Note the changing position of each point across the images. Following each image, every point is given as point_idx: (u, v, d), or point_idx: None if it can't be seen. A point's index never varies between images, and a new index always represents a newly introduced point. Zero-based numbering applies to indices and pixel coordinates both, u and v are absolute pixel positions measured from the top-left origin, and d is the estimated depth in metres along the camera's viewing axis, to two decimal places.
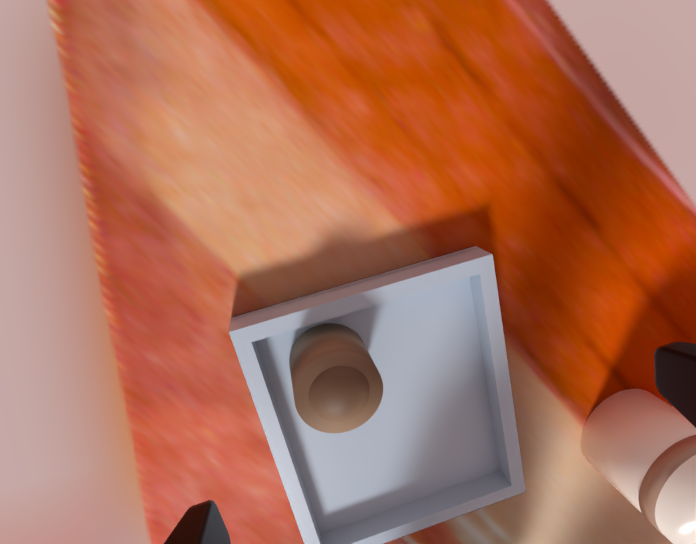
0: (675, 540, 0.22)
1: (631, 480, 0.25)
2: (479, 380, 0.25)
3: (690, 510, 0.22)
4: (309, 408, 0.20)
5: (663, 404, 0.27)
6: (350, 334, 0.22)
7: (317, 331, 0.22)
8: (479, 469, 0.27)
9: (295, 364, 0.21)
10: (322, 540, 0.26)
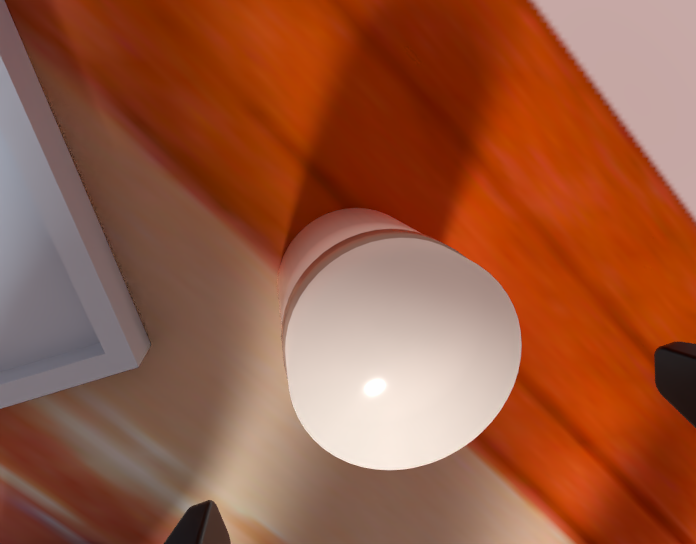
0: None
1: None
2: None
3: (309, 349, 0.10)
4: None
5: (384, 216, 0.15)
6: None
7: None
8: (73, 333, 0.16)
9: None
10: None
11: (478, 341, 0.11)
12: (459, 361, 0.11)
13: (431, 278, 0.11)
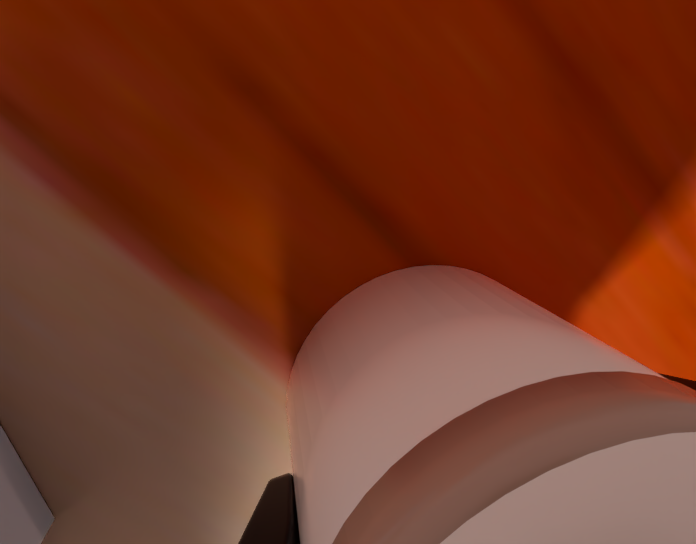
0: None
1: None
2: None
3: None
4: None
5: (502, 294, 0.08)
6: None
7: None
8: None
9: None
10: None
11: None
12: None
13: None
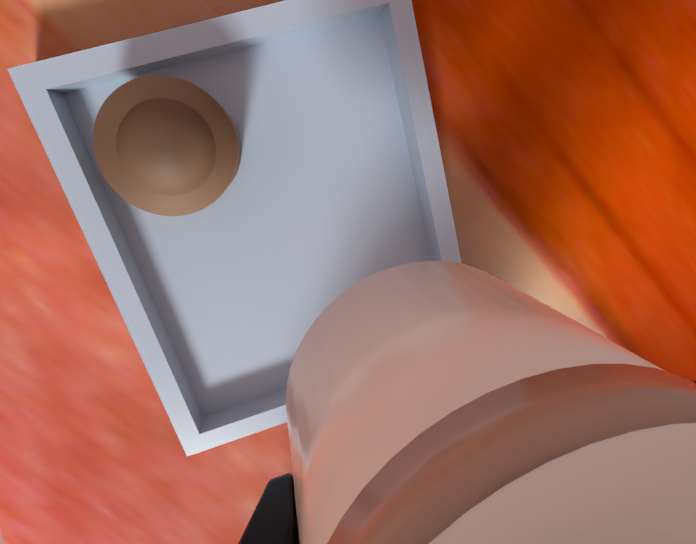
0: None
1: None
2: (408, 196, 0.18)
3: None
4: (121, 169, 0.13)
5: (502, 288, 0.08)
6: None
7: None
8: None
9: None
10: (203, 421, 0.19)
11: None
12: None
13: None
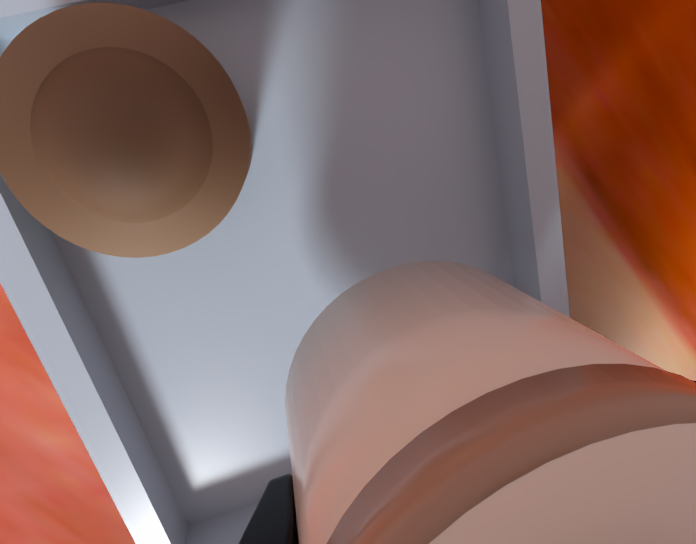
0: None
1: None
2: (493, 218, 0.13)
3: None
4: (41, 174, 0.07)
5: (502, 288, 0.08)
6: None
7: None
8: None
9: None
10: (187, 537, 0.13)
11: None
12: None
13: None
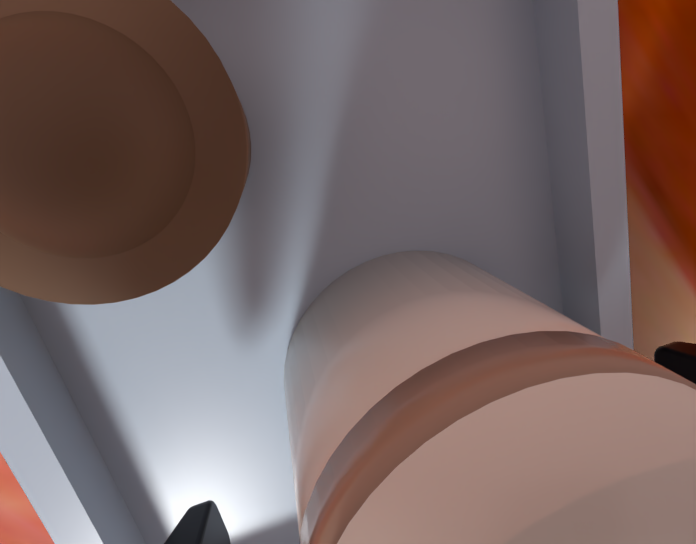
0: None
1: (298, 523, 0.07)
2: (541, 236, 0.11)
3: None
4: None
5: (477, 274, 0.09)
6: None
7: None
8: None
9: None
10: None
11: None
12: None
13: None
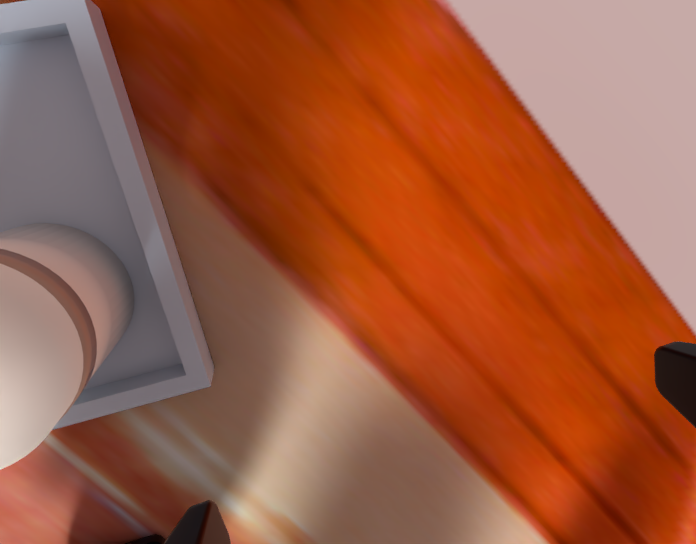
0: None
1: None
2: (132, 219, 0.18)
3: None
4: None
5: (44, 233, 0.16)
6: None
7: None
8: (156, 357, 0.20)
9: None
10: None
11: (10, 357, 0.12)
12: None
13: None
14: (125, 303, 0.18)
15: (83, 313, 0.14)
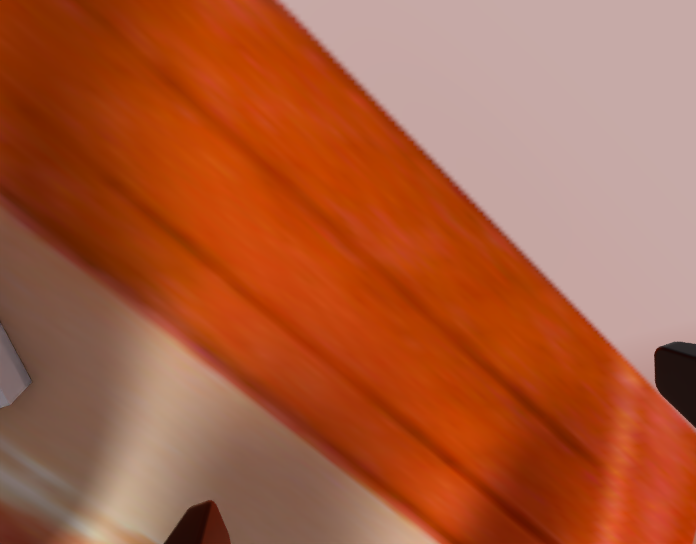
0: None
1: None
2: None
3: None
4: None
5: None
6: None
7: None
8: None
9: None
10: None
11: None
12: None
13: None
14: None
15: None
